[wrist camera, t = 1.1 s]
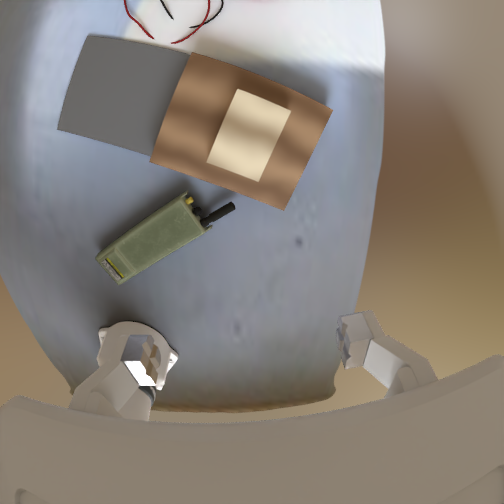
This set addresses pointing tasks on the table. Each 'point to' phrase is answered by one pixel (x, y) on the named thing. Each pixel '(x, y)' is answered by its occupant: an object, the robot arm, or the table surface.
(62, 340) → the table surface
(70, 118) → the mat
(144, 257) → the handheld radio
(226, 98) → the platform
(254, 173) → the tile
